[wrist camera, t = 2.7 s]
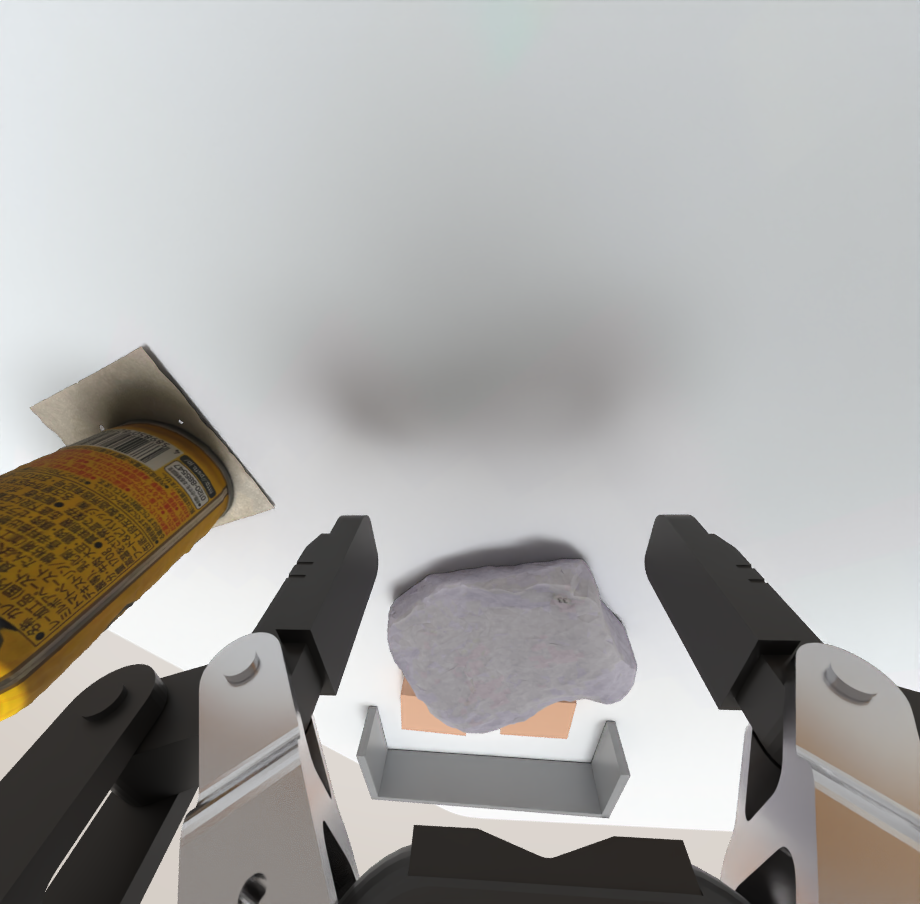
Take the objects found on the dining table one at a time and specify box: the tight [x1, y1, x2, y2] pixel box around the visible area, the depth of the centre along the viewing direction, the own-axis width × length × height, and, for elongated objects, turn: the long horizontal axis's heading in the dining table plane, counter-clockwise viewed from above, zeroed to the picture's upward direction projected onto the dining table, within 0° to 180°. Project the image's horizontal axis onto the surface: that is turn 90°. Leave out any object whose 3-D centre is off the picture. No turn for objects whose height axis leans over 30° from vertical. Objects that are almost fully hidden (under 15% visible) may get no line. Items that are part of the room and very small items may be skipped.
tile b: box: [500, 700, 576, 739], centre depth 23 cm, size 4×4×2 cm
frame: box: [356, 706, 630, 818], centre depth 26 cm, size 8×18×3 cm, turn 91°
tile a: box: [401, 676, 466, 736], centre depth 24 cm, size 4×4×2 cm
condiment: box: [0, 347, 274, 721], centre depth 11 cm, size 7×8×12 cm
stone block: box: [387, 559, 637, 733], centre depth 19 cm, size 12×5×10 cm
